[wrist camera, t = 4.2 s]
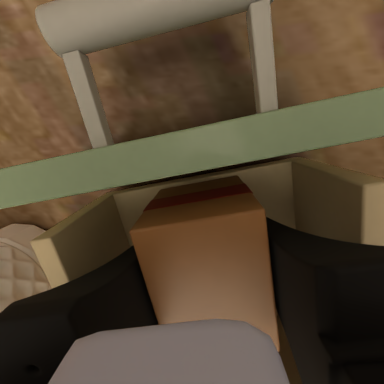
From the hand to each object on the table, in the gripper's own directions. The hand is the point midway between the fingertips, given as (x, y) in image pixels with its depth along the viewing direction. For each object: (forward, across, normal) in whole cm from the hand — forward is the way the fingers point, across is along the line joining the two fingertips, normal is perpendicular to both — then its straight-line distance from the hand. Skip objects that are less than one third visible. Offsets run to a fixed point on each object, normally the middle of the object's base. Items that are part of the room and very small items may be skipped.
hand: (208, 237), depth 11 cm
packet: (+1, 0, 0) cm, 1 cm away
